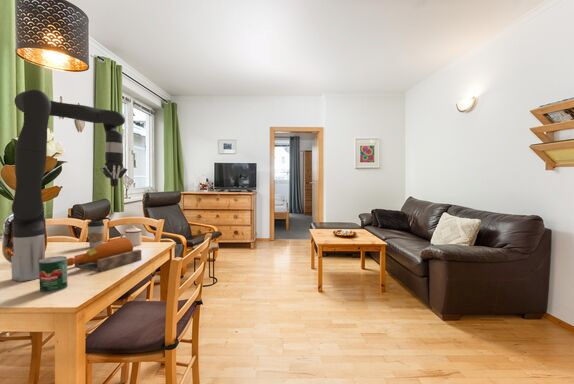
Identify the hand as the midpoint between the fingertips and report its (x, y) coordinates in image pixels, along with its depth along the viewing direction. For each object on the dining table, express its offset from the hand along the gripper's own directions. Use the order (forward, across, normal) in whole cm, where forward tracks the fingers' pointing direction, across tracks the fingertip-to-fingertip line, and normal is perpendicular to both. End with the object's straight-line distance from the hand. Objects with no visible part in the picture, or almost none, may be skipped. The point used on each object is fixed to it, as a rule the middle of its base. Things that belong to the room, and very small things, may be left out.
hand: (114, 186), depth 139 cm
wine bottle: (+31, +3, -6) cm, 32 cm away
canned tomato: (+37, -35, -18) cm, 54 cm away
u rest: (+37, -6, -6) cm, 38 cm away
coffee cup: (+37, +11, +32) cm, 50 cm away
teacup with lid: (+37, +23, +19) cm, 47 cm away
